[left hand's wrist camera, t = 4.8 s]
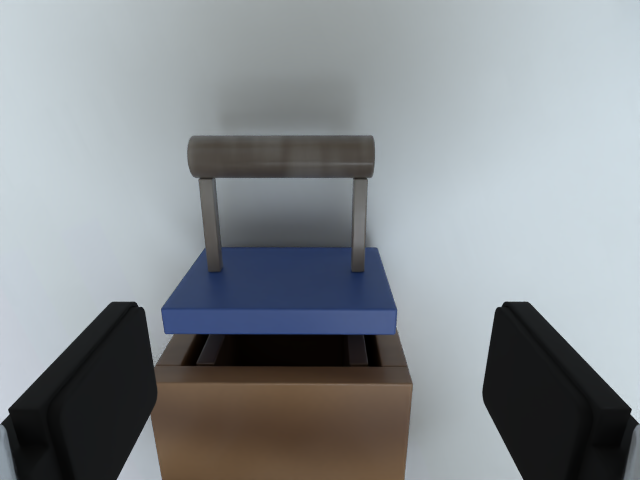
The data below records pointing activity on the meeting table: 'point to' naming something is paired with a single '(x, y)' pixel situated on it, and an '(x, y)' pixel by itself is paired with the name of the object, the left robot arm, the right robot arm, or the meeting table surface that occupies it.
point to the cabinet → (282, 417)
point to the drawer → (282, 265)
